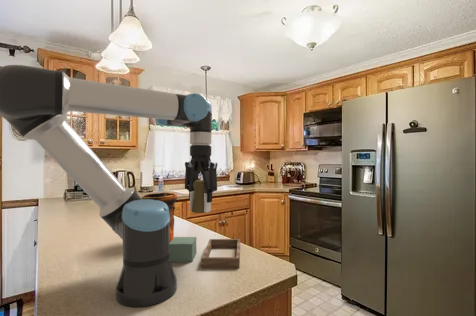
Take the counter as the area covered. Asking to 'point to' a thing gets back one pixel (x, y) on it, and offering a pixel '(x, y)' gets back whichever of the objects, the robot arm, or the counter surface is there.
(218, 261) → the wooden frame
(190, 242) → the stand
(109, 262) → the counter surface
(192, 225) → the counter surface
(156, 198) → the vessel
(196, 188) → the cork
